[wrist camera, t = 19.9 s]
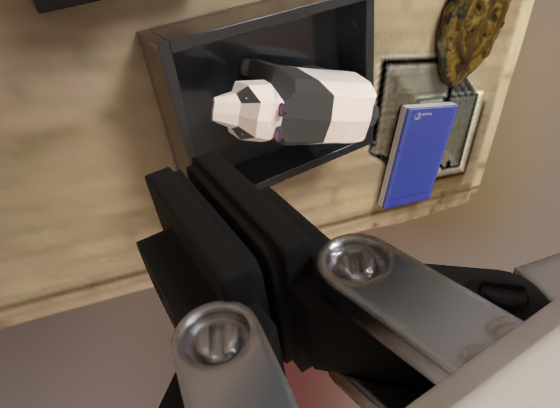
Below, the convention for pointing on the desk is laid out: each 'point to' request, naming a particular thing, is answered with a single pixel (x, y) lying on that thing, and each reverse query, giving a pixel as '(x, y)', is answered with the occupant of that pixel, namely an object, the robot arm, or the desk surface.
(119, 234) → the desk surface
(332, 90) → the giant panda
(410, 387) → the robot arm
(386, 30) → the desk surface
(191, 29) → the dark grey shallow box
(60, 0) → the black knob plate
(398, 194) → the hard drive
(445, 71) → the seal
